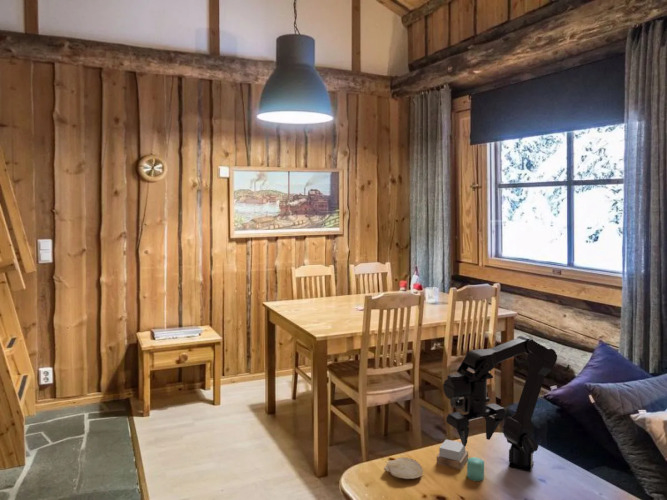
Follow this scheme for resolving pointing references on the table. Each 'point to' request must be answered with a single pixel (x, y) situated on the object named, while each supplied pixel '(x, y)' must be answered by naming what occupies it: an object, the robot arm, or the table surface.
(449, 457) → the grey block
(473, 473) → the teal cylinder
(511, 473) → the table surface
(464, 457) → the walnut base
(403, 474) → the seashell
